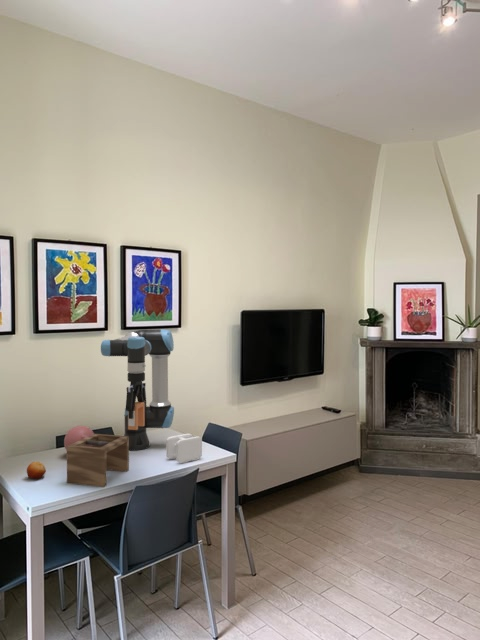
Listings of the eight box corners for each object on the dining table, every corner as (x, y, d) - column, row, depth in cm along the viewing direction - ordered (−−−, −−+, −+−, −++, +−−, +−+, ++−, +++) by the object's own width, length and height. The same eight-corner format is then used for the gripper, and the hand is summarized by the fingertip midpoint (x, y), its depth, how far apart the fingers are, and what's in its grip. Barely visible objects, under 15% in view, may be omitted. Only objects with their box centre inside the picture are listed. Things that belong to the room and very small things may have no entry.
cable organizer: (176, 465, 230) (176, 441, 230) (165, 459, 239) (165, 436, 238) (202, 459, 240) (202, 436, 240) (190, 454, 248) (190, 432, 248)
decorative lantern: (72, 464, 230) (72, 433, 230) (60, 455, 246) (59, 425, 246) (103, 459, 239) (103, 428, 239) (89, 449, 255) (89, 421, 255)
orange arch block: (127, 429, 206) (127, 405, 206) (136, 425, 214) (136, 401, 213) (136, 429, 205) (136, 405, 205) (144, 425, 213) (144, 402, 212)
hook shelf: (94, 466, 227) (94, 433, 227) (128, 470, 223) (128, 436, 222) (66, 482, 206) (66, 446, 206) (104, 487, 201) (103, 449, 201)
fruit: (26, 471, 216) (35, 456, 216) (41, 480, 216) (50, 465, 217) (19, 478, 208) (29, 462, 208) (35, 487, 208) (44, 471, 209)
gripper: (133, 375, 198) (133, 429, 198) (154, 369, 218) (154, 418, 218) (116, 374, 200) (116, 428, 200) (139, 368, 220) (139, 417, 220)
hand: (136, 423), depth 209 cm, fingers closed on orange arch block, 8 cm apart
